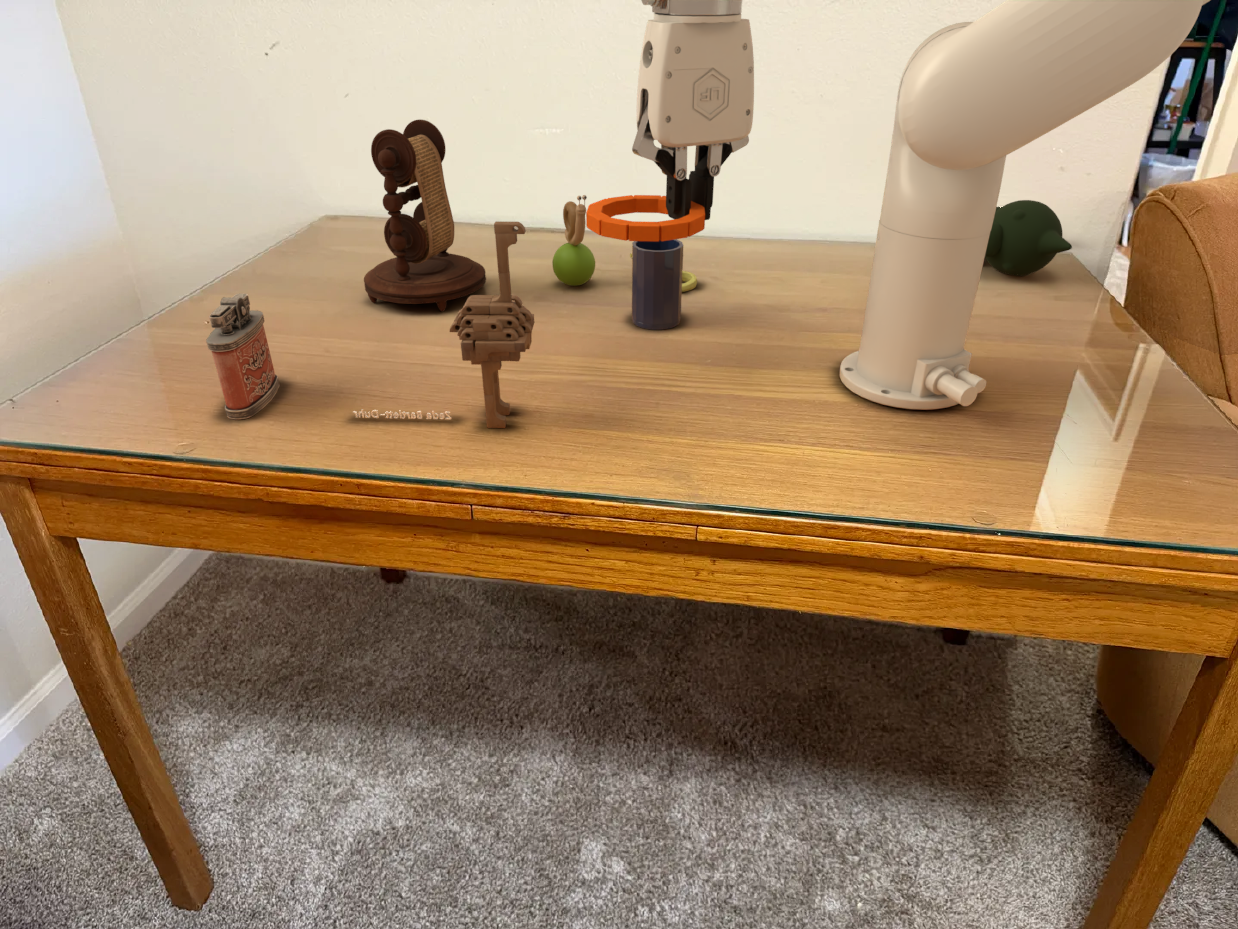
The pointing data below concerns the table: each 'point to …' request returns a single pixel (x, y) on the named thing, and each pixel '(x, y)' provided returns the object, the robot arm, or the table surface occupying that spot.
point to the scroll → (418, 223)
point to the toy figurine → (1024, 238)
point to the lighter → (242, 357)
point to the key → (687, 280)
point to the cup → (657, 283)
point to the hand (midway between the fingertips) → (688, 216)
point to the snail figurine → (574, 248)
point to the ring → (642, 231)
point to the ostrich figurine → (490, 332)
